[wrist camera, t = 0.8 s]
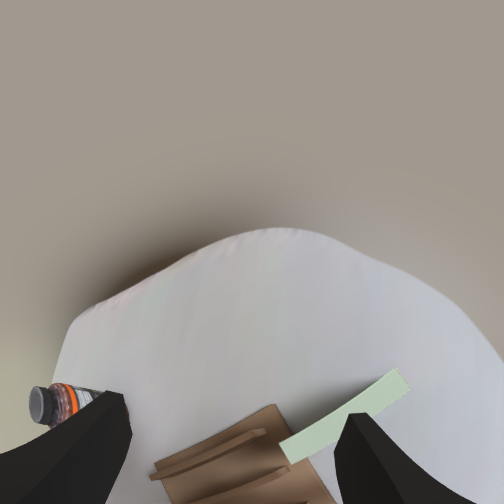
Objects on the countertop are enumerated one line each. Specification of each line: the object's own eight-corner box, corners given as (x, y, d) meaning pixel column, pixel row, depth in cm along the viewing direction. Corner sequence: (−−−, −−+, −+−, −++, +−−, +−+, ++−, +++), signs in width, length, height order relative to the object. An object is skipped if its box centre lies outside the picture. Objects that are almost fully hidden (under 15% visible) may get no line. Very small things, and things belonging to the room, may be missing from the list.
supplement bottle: (107, 442, 28) (28, 434, 20) (99, 399, 32) (23, 383, 23) (136, 435, 27) (48, 428, 18) (126, 388, 31) (43, 369, 22)
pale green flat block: (408, 388, 19) (411, 388, 13) (322, 446, 19) (291, 464, 14) (396, 373, 20) (395, 366, 14) (312, 431, 20) (278, 443, 15)
